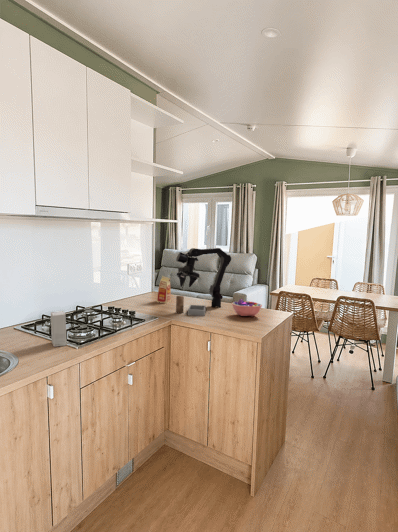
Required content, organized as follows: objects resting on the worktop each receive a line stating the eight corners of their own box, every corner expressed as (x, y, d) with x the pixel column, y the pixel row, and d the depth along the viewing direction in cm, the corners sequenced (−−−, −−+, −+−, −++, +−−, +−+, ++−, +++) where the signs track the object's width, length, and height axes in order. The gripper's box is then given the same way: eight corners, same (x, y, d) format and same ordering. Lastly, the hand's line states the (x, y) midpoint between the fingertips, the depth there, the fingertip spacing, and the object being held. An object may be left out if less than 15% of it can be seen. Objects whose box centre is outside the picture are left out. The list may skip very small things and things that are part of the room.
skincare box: (66, 345, 157) (66, 314, 156) (52, 347, 155) (52, 315, 153) (64, 340, 165) (64, 310, 163) (50, 341, 162) (50, 311, 160)
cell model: (261, 320, 215) (262, 303, 214) (229, 317, 219) (230, 300, 218) (261, 314, 232) (262, 298, 231) (232, 311, 236) (233, 295, 235)
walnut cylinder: (183, 311, 231) (184, 295, 229) (182, 313, 226) (183, 297, 224) (176, 311, 231) (176, 295, 230) (175, 313, 226) (175, 297, 225)
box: (205, 310, 237) (205, 305, 236) (204, 315, 222) (204, 310, 221) (189, 309, 237) (189, 304, 237) (187, 315, 222) (187, 309, 222)
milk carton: (156, 302, 258) (157, 276, 256) (161, 300, 267) (162, 274, 265) (167, 303, 255) (168, 277, 253) (172, 301, 264) (173, 275, 262)
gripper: (173, 262, 241) (168, 283, 238) (190, 261, 227) (185, 283, 224) (184, 267, 248) (180, 287, 245) (202, 266, 235) (197, 288, 231)
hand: (185, 286), depth 236 cm, fingers open, 9 cm apart
